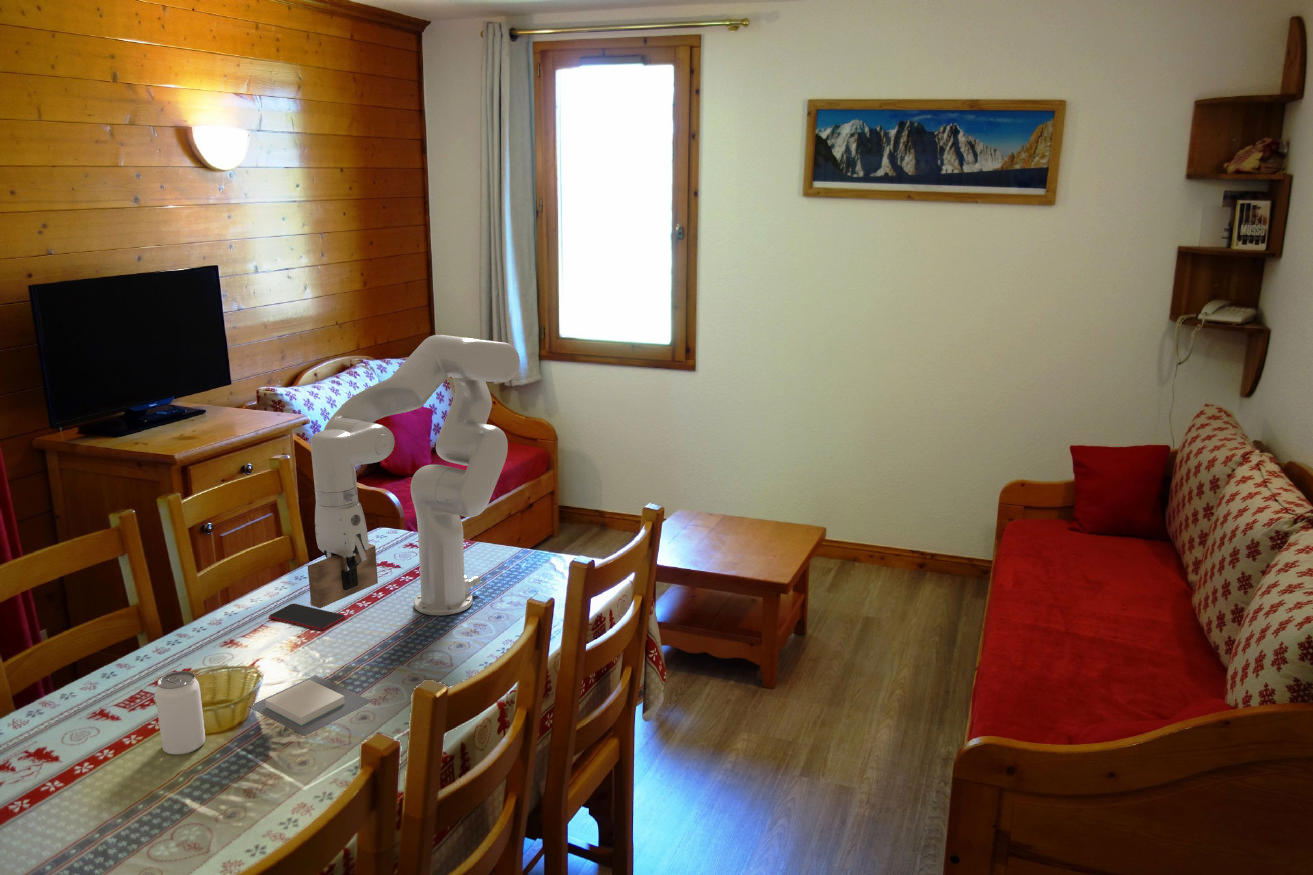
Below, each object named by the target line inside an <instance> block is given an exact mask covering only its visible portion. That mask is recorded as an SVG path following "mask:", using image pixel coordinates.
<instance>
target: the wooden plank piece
mask: <svg viewBox="0 0 1313 875" xmlns="http://www.w3.org/2000/svg"><path fill="white" fill-rule="evenodd" d="M376 549H377V548H376V545H374V544H371V543H369V548H368V550H367V551H364V552H365V555H366V557H367V560H366V561H364V562H361V563H359V566H358V567H357V577H358V585H357V586H355V587H353V588H351V589H348V590H343V583H342V572H341V571H343V570H344V569H343V563H342V556H341V555H338V554H337V555H334V556H331V557H329V558H326V557H325V558H324V559H320V560H318V561H317V562H314V563H311V564H309V565H307V573H308V574H307V575H308V576H307V577H308V585H309V586H308V587H309V595H310V596H309V597H310V605H311V607H314V608H316V609H322V608H325V607H327V606H328V605H331V604H333V603H336V602H338V601H340V600H342V599H346V598H347V597H349V596H352V595H354V594H357V593H358V592H361V591H363V590H365V589H369V588H370V587H373V586H374V585H377V584H379V580H378V566H377V564H378V562H377V551H376ZM351 559H352V557H350V558H348V560H349V561H350V560H351Z"/></svg>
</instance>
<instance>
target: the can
mask: <svg viewBox="0 0 1313 875" xmlns="http://www.w3.org/2000/svg"><path fill="white" fill-rule="evenodd" d="M156 684H157V687H156V689H155V701H156V709H157V717H158V725H159V732H160V739H161V741H160V742H161V746H162V750H163V751H164V752H165V753H166V754H168V755H170V756H171V755H172V756H181V755H182V756H183V755H187V754H188V755H189V754H191V753H192V752H193V753H194V752H195V751H196V750H197V751H198V750H199V749H201V747H202V746H203V744H205V742H206V731H205V722H204V712H203V702H202V697H201V695H202V694H201V687H200V683H199V681H198V680H197V678H196V674H195V673H194V672H191V671H189V670H188V671H186V670H183V671H174V672H170V673H168V674H165V675H163V676H161V677H160V678H159V679H158V680H157V683H156Z"/></svg>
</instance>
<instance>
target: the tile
mask: <svg viewBox="0 0 1313 875" xmlns="http://www.w3.org/2000/svg"><path fill="white" fill-rule="evenodd" d="M301 682H302V681H301ZM299 683H300V682H299ZM286 689H287V688H286ZM273 695H274V694H273ZM265 702H266V708H267V709H269V710H271V711H273V712H275V713H277V714H279V715H281V716H283V717H285V718H287V719H289V720H291V721H292V722H294V723H296V724H298V725H300V726H303V725H305V724H307V723H309V722H311V721H313V720H315V719H317V718H319V717H321V716H323V715H325V714H326V713H328V712H330V711H332V710H334V709H336V708H338V707H340V706H342V705H344V704H345V697H344V696H343V695H341V694H339V693H337V692H335V691H333V690H330V689H328V688H326V687H324V686H322V685H320V684H318V683H316V682H313V681H311V680H307V681H305V682H302V683H300V684H298V685H296V686H294V687H292V688H290V689H287V690H285V691H283V692H281V693H279V694H277V695H274V696H272V697H270V698H268V699H266V700H265Z"/></svg>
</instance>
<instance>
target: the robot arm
mask: <svg viewBox="0 0 1313 875" xmlns="http://www.w3.org/2000/svg"><path fill="white" fill-rule="evenodd" d="M520 361H521V360H520V356H519V353H518V350H517V349H516V348H515V346H513V345H512V344H510V343H509V342H501V341H494V340H486V339H478V338H469V337H463V336H456V335H455V336H453V335H446V334H433V335H431V336H428V337H427V338H425V339H424V340H422V342H421V343H420V344H419V345H418V347H417V348H416V349H414V351H413V352H412V353H411V354H410V355H409V356H408V358H406V360H404V362H403V363H402V364H401V365H400V366H399V367H398V368H397V370H396V371H394V373H393V374H392V375H391V376H390V377H388V378H386V379H384V380H382V381H380V382H378V383H375V384H373V385H372V386H370V387H367V388H365V389H364V390H361V391H360V392H358V393H356V394H354V395H352V396H351V397H350V398H349V399H347V400H346V401H345V402H344V403H343V404H342V405H341V406H340V407H339V408H338V409H337V411H336V412H334V414H333V415H332V416H331V417H330V418H329V419H328V421H327V422H326V424H325V427H324V429H323V430H321V431H318V432H316V433H314V434H313V435H312V436H311V439H310V453H311V454H310V455H311V461H312V464H311V465H312V473H313V474H312V475H313V482H314V483H313V484H314V493H315V507H314V508H315V509H314V526H315V527H314V528H315V529H314V530H315V539H316V543H317V548H318V549H319V550H320V551H321V552H322V553H323V555H324V556H325V559H326V558H329V557H331V556H334V555H337V554H338V555H341V556H342V563H343V569H344V570H343V571H341V572H342V583H343V590H348V589H351V588H353V587H355V586H357V585H358V577H357V567H358V566H359V563H361V562H364V561H366V560H367V557H366V555H365V552H364V551H367V550H368V548H369V544H370V543H369V536H368V529H367V522H366V518H365V513H364V511H363V510H364V509H363V507H362V504H361V502H359V495H358V484H357V473H356V471H357V470H356V467H357V466H360V465H367V464H368V465H369V464H373V463H378V462H381V461H383V460H385V459H387V457H389V456H390V455H391V454H392V452H393V451H394V447H395V443H396V442H395V436H394V434H393V432H392V431H391V430H390V429H389V428H388V427H387V426H385V425H383V424H379V423H376V421H377V420H381V419H382V418H385V417H388V416H389V417H390V416H393V415H397V414H402V413H403V414H404V413H408V412H412V411H414V410H418V409H420V408H422V407H423V406H424V405H425V404H426V403H427V402H428V400H429V399H430V398H431V397H432V396H433V394H434V393H435V392H436V391H437V390H438V388H440V386H442V384H443V383H444V382H445V381H446V380H447V379H449V378H452V380H453V382H452V383H453V386H454V387H453V388H454V393H453V394H454V395H453V398H452V401H451V405H450V407H449V409H448V412H447V414H446V416H445V419H444V422H443V424H442V426H441V429H440V431H439V433H438V436H437V440H436V442H435V451H436V453H437V455H438V457H440V458H441V459H442V460H444V461H446V462H449V463H453V464H457V465H461V466H467V467H466V470H465V469H462V468H461V469H460V468H456V467H454V466H447V465H443V464H428V465H424V466H421V467H419V469H418V470H416V471H415V473H414V474H413V476H412V478H411V482H410V494H411V500H412V504H413V506H414V511H415V516H416V521H417V522H416V524H417V543H418V562H419V583H420V584H419V585H420V593H419V594H418V595H417V596H416V597H415V598H414V600H413V606H414V609H415V610H416V611H418V613H421V614H424V615H428V616H437V617H438V616H449V615H450V616H451V615H454V614H458V613H461V612H463V611H465V610H467V609H469V608H470V607H471V606H472V604H473V601H474V600H473V595H472V594H471V592H469V591H470V590H471V589H472V587H475V586H477V585H479V584H481V579H480V577H479V576H478V575H475V576H473V577H470V578H468V577H467V576H466V575H465V554H464V553H465V552H464V550H465V549H464V526H463V523H462V518H461V517H465V518H475V517H477V516H479V515H480V514H482V513H483V512H484V511H485V509H486V508H487V506H488V504H489V503H490V501H491V498H492V495H493V494H494V491H495V488H496V486H497V484H498V481H499V478H500V477H501V476H500V475H501V473H502V470H503V468H504V466H505V464H506V459H507V456H508V450H509V449H508V448H509V447H508V446H509V444H508V443H509V442H508V438H507V436H506V434H505V432H504V430H502V429H501V428H499V427H498V426H496V425H492V424H487V422H488V419H489V417H490V414H491V412H492V408H493V400H492V395H491V392H490V389H489V387H488V384H487V382H490V383H493V382H494V383H507V382H509V381H511V380H512V379H513V378H514V377H515V376H516V375H517V373H518V371H519V369H520V365H521V363H520ZM350 557H352V559H351V560H350V561H349V560H348V558H350Z"/></svg>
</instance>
